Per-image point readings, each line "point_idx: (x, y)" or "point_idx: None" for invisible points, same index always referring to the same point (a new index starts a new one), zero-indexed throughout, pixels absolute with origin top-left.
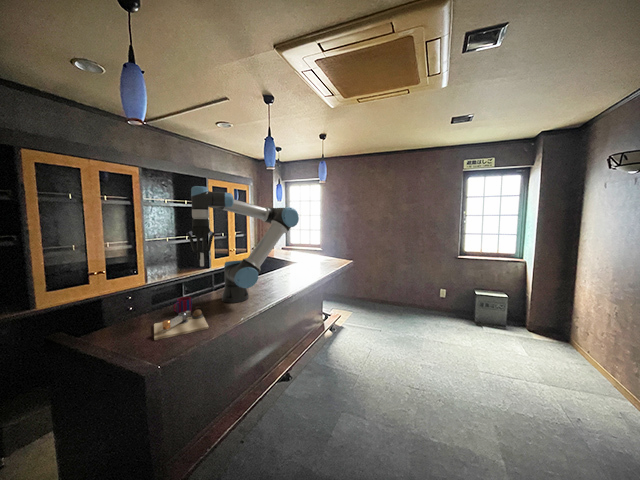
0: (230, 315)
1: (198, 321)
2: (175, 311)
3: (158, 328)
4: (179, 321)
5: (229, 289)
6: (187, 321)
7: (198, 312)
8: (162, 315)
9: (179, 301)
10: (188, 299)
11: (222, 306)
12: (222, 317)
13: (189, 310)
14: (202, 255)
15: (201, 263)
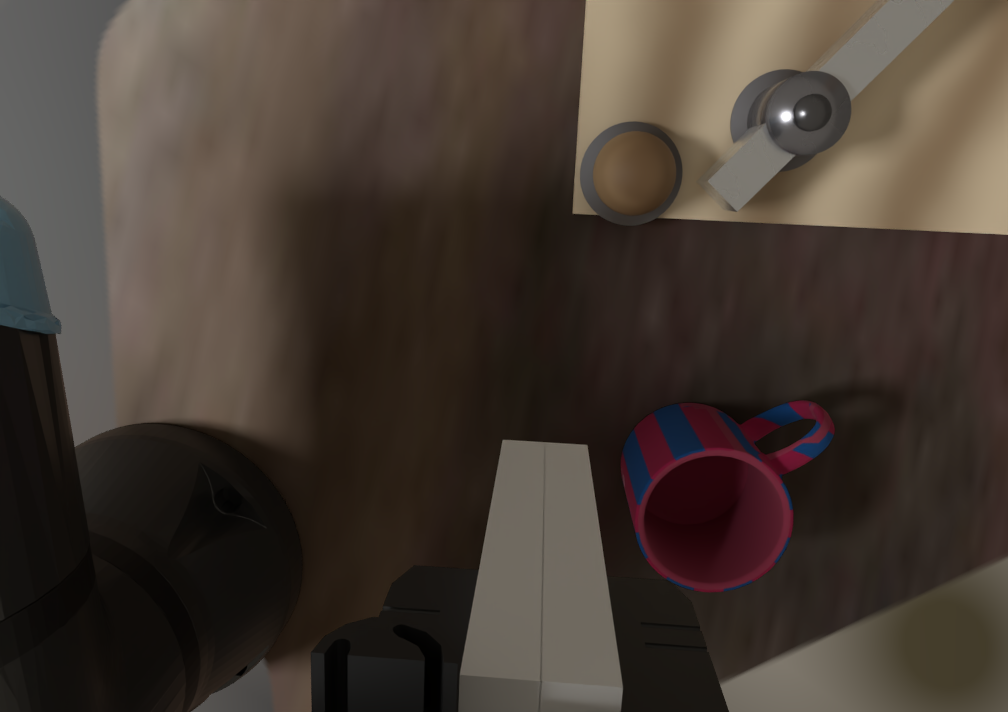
0: (328, 84)
1: (651, 39)
2: (796, 406)
3: (1005, 75)
4: (838, 41)
5: (177, 556)
6: (744, 92)
7: (634, 135)
8: (880, 472)
9: (774, 471)
10: (656, 546)
11: (339, 398)
12: (411, 75)
13: (656, 416)
14: (527, 610)
15: (569, 477)
